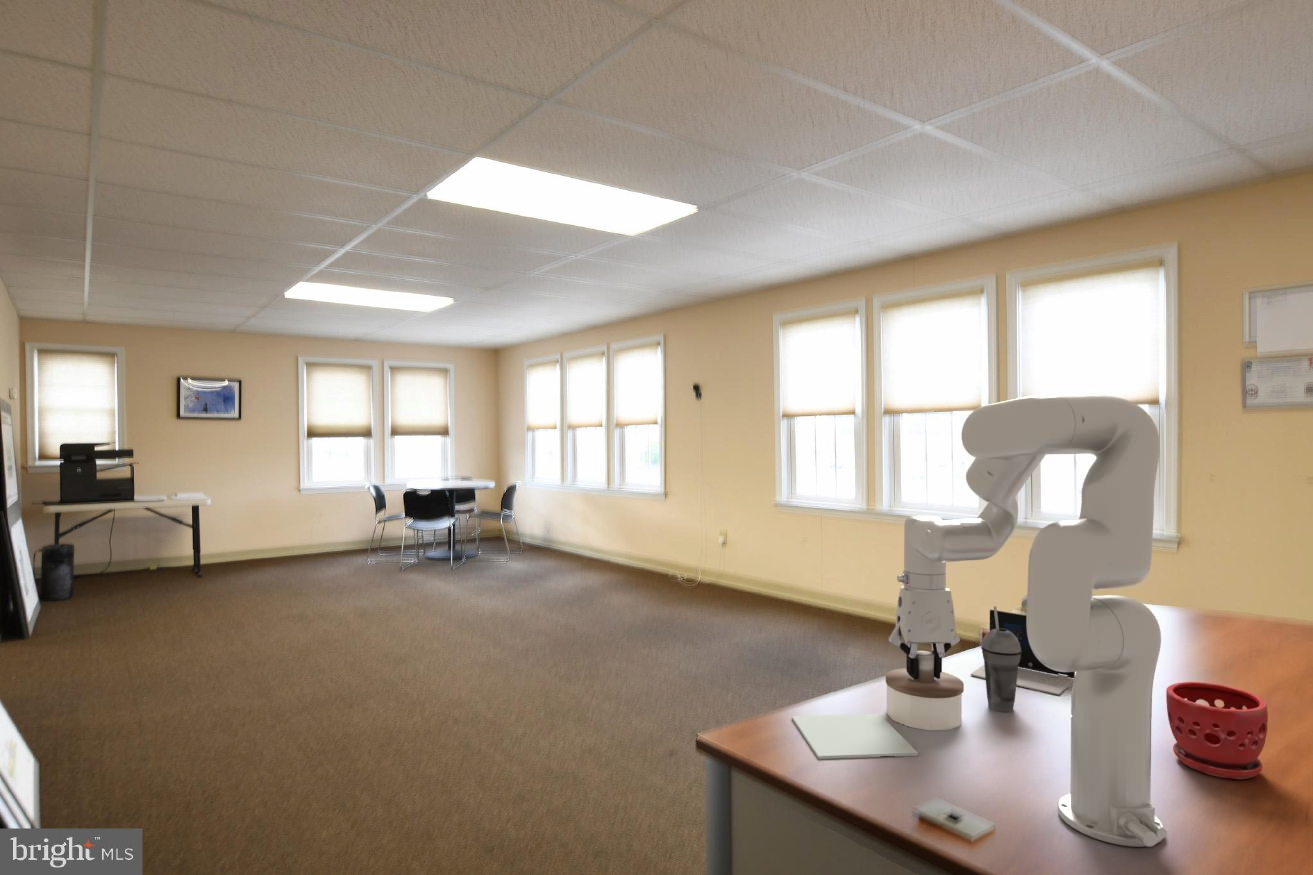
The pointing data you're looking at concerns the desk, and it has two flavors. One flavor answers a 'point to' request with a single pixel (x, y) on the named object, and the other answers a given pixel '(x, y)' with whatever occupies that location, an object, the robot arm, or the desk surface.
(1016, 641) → the beverage cup
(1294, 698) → the desk surface
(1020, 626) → the laptop
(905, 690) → the lid
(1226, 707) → the plant pot
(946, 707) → the bowl
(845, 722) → the mat
